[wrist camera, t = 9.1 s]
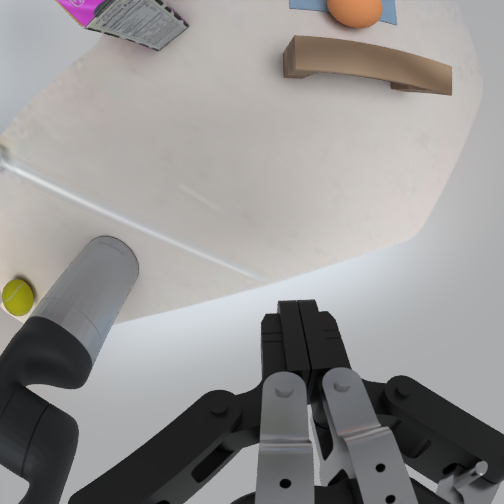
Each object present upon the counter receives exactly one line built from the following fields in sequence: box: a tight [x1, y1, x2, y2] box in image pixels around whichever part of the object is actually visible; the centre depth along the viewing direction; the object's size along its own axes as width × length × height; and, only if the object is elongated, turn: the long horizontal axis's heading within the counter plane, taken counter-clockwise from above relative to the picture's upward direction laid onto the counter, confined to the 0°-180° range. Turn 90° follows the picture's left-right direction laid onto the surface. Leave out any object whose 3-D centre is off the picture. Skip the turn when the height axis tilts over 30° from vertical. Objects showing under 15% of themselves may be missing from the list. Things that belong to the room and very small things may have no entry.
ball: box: [327, 0, 383, 28], centre depth 19 cm, size 6×6×6 cm
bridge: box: [283, 35, 452, 96], centre depth 22 cm, size 3×15×10 cm, turn 92°
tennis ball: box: [2, 279, 33, 316], centre depth 40 cm, size 7×7×7 cm
